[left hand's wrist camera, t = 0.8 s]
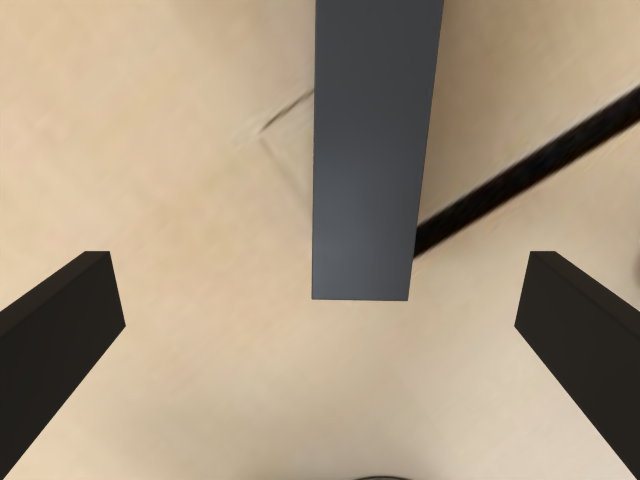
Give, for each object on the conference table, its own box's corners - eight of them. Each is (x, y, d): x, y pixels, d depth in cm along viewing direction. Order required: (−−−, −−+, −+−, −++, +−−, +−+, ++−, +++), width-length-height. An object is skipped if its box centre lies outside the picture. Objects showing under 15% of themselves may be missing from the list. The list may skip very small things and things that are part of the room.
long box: (385, 245, 33) (408, 301, 24) (313, 243, 33) (311, 299, 24) (422, -164, 23) (480, -303, 15) (320, -167, 23) (320, -308, 15)
